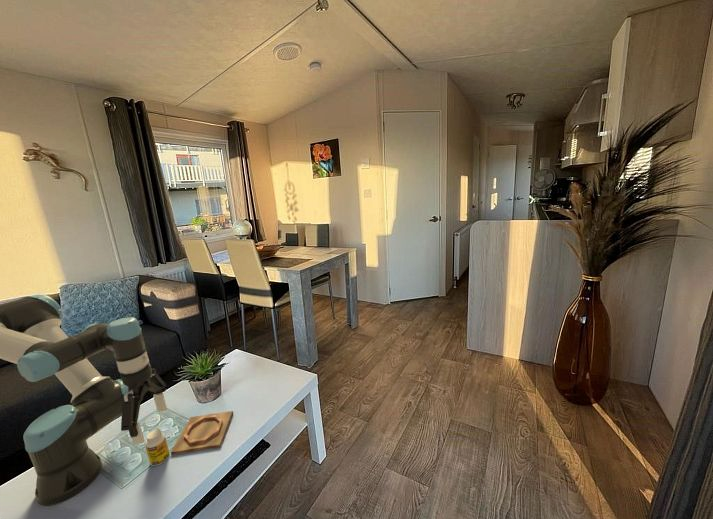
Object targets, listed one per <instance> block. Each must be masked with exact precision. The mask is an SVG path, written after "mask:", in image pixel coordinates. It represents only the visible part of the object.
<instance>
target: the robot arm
mask: <svg viewBox="0 0 713 519" xmlns="http://www.w3.org/2000/svg"><path fill="white" fill-rule="evenodd" d="M63 315H64V314H63V311H62V309H61V306H60V304H59V303H58V302H57V301H56V300H55V299H53V298H52V297H50V295H49V296H48V295H46V294H34V295H30V296H29V295H28V296H23V297H21V298H19V299H15V300H11V301H8V302H7V301H6V302H4V303H0V359H1V360H3V361H7V362H9V363H13V364H16V367H17V370H18V372H19V374H20V375H21V376H22V377H23V378H24V379H25V380H26V381H28V382H31V383H35V382H38V381H41V380H44V379H46V378H49V377H52V376H54V375H55V377H57V378H58V380H59V381H60V382H61V383H62V385H63V386H64V387H65V388H66V389H67V390H68V392H69V393H70V394H71V395H72V397H71V400H70V404H65V405H60V406H58V407H56V408H51V409H50V410H49V411H46V412H45V413H43V414H41V415H40V416H38V417H37V418H36V419H34V421H32V422H31V423H30V424H29V425H28V427H27V428H26V430H25V431H24V433H23V441H24V449H25V451H26V452H27V454H28V456H29V458H30V461H31V463H32V465H33V468H34V470H35V473H36V483H35V484H36V485H35V487H36V488H35V492H34V495H35V499H36V501H37V503H38V504H39V505H40V506H52V505H56V504H59V503H62V502H64V501H67V500H69V499H71V498H72V497H75V496H76V495H77V494H79V493H81V492H82V491H83V490H85V489H86V488H87V487H89V486H90V485H91V484H92V483H94V481H95V480H97V477H98V476H99V475H100V473H101V471H102V469H103V462H102V459H101V457H100V456H99V455H98V454H97V453H95V452H94V451H93V449H91V448H90V447H89V445H88V443H87V442H88V440H89V438H91V437H92V436H94V435H95V434H97V433H99V432H100V431H101V430H103V429H104V428H105V427H107V426H108V425H110V424H111V423H112V422H114V421H116V420H117V419H119V418H121V420H120V422H121V423H120V431H121V432H124V431H128V433H129V437H130V438H131V439H132V440H131V441H132V443H133V445H138V444H140V445H141V444H145V442H146V439H145V437H144V433H143V430H142V426H141V424H140V422H138V420H139V415H140V409H141V403H142V401H143V400H144V396H145V395H146V393H147V392H152V393H154V394H153V399H154V404H155V407H156V409H157V413H160V412H165V411H167V410H168V407H167V405H166V404H167V403H166V400H165V396H164V393H165V392H166V391H167V388H166V385H167V384H166V382H165V381H164V380H163V379H162V378H161V377H160V375H159V374H158V373H157V371H156V369H155V368H152V366H151V363H150V360H149V356H148V351H147V348H146V344H145V341H144V336H143V332H142V327H141V326H140V323H139V320H138V319H137V318H136V317H133V316H131V317H123V318H119V319H115V320H114V321H112V322H110V323H105V322H99V323H98V322H97V323H90V324H89V325H87V326H85V327H84V328H83V329H81V331H80V332H79V333H77V334H74V335H72V336H68V335H67V334H66V333H65V332H64V331H63V330H62V328H61V327H60V326H61V324H62V319H63ZM104 350H105V351H112V352H113V356H114V359H115V362H116V366H117V369H118V370H117V371H118V372H119V373H120V374H119V376H120V378H119V379H116V380H113V379H112V378H111V377H110V376H103V375H102V374H101V373H100V372H99V371H98V370H97V369H96V368H95V366H94V365H93V364H92V363H91V362H90V361H89V359H88V358H90V357H92V356H94V355H96V354H98V353H100V352H103V351H104Z"/></svg>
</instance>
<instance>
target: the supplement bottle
mask: <svg viewBox="0 0 713 519" xmlns="http://www.w3.org/2000/svg"><path fill="white" fill-rule="evenodd" d="M145 438H146V440H145V442H144V447H145V450H146V452H147V457H148V460H149V463H150V465H151V466H152V467H157V466H160V465H162V464H164V463H165V462H166V461H167V460H168V459H169V457H170V455H171V452H170V450H169V445H168V442H167V437H166V435H165V433H164V432H163V433H162V431H161V430H160V429H159V428H158V429H154V430H151V431H150V432H149V433H147V435H146V437H145Z"/></svg>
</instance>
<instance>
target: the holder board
mask: <svg viewBox="0 0 713 519" xmlns="http://www.w3.org/2000/svg"><path fill="white" fill-rule="evenodd" d="M233 415H234V411H233V410H229V411H225V412H224V411H223V412H217V413H210V414H203V415H195V416H190V417H189V419H188V420H187V423H185V424H186V425H185V426H184V428H183V429H182V431H181V433H180V434H179V437H178V439H177V440H176V442H175V443H174V445H173V447H172V449H171V451H170V455H171V456H175V455H181V454H189V453H192V452H198V451H200V452H201V451H206V450H212V449H213V450H214V449H218V448H221V447H222V444H223V441H224V439H225V436H226V433H227V430H228V428H229V426H230V423H231V420H232V418H233Z"/></svg>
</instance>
